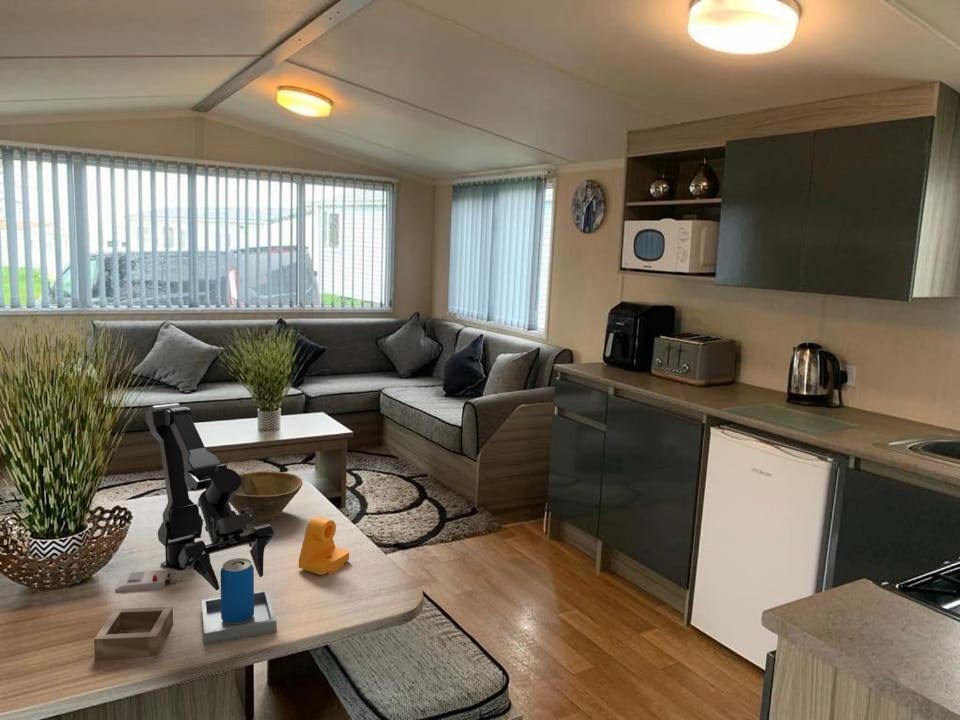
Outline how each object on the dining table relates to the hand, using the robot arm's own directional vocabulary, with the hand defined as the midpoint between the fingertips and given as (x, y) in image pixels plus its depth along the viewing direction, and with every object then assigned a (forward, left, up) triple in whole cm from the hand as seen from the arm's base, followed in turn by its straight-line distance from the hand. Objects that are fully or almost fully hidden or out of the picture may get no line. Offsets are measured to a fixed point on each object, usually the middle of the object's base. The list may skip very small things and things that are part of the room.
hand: (240, 582), depth 141 cm
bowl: (-33, +49, -9) cm, 60 cm away
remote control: (-31, +5, -10) cm, 33 cm away
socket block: (-14, -13, -9) cm, 22 cm away
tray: (-1, +1, -9) cm, 9 cm away
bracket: (+1, +30, -9) cm, 31 cm away
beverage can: (-1, +1, -9) cm, 9 cm away
